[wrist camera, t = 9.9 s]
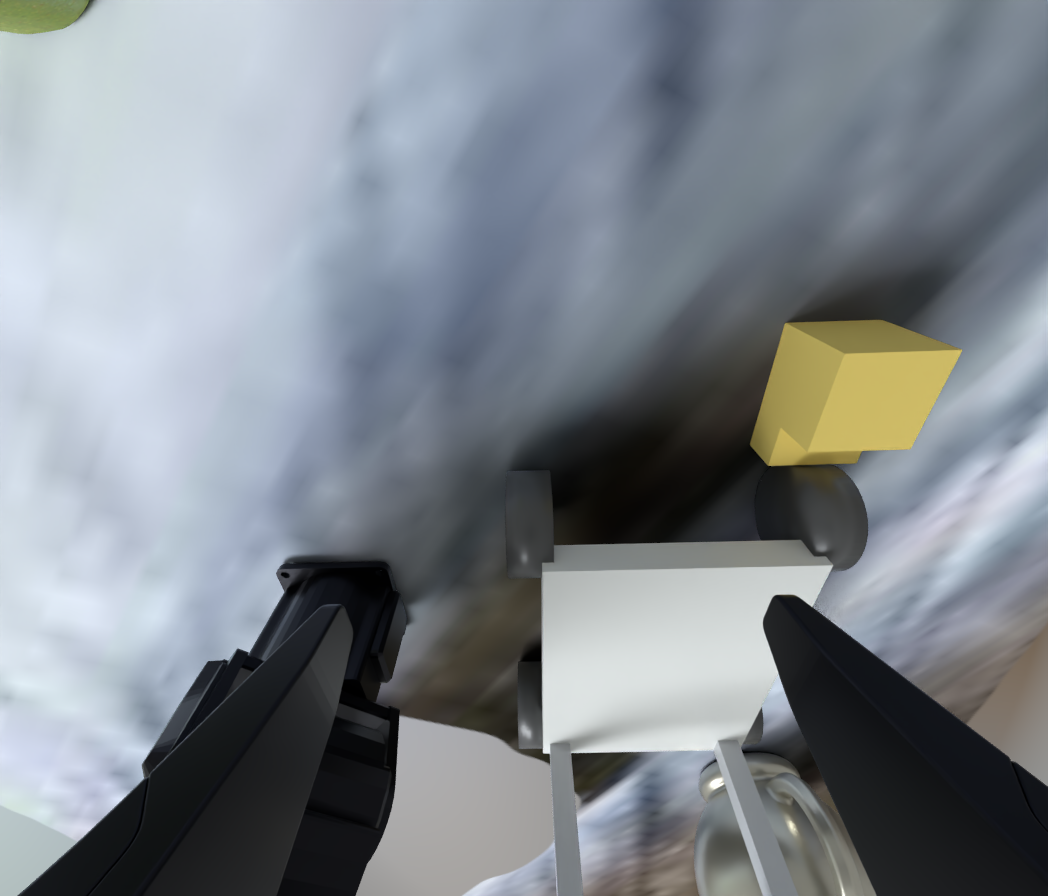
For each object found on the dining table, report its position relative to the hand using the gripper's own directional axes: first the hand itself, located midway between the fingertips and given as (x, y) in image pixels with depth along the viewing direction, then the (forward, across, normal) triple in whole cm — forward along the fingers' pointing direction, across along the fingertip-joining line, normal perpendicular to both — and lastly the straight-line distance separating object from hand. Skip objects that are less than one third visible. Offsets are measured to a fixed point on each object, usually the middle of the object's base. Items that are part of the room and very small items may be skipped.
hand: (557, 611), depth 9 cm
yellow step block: (+12, -12, 0) cm, 17 cm away
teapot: (+12, -19, +38) cm, 44 cm away
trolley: (+12, -6, +14) cm, 19 cm away
